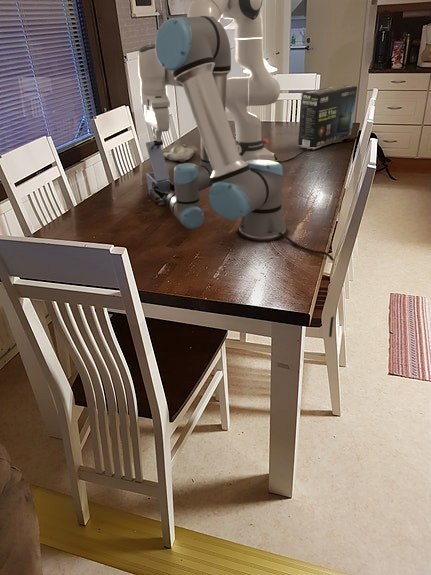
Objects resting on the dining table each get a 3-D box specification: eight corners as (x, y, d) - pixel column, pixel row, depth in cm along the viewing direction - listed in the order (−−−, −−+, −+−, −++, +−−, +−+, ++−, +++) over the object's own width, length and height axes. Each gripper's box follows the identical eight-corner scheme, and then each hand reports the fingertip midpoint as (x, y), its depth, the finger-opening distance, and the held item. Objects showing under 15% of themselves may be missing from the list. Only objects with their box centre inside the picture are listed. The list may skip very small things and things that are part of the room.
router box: (314, 151, 231) (318, 94, 217) (296, 148, 237) (299, 92, 224) (352, 138, 251) (358, 85, 238) (335, 135, 258) (340, 83, 245)
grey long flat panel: (145, 143, 169) (149, 136, 161) (158, 141, 171) (163, 133, 163) (155, 181, 170) (160, 176, 162) (169, 179, 172) (174, 173, 164)
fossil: (184, 156, 217) (163, 136, 220) (174, 174, 223) (154, 154, 227) (205, 153, 231) (186, 134, 234) (195, 171, 237) (176, 152, 240)
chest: (148, 194, 185) (145, 173, 181) (161, 191, 187) (158, 170, 182) (159, 205, 174) (156, 183, 170) (172, 202, 176) (169, 180, 171)
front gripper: (154, 219, 155) (138, 197, 174) (205, 209, 161) (184, 190, 180) (152, 197, 152) (135, 178, 170) (204, 189, 157) (182, 171, 176)
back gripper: (138, 95, 163) (142, 136, 170) (152, 103, 146) (156, 147, 153) (155, 94, 165) (158, 134, 172) (171, 101, 148) (174, 145, 155)
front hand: (160, 184), depth 175 cm, fingers closed on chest, 5 cm apart
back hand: (157, 140), depth 162 cm, fingers closed, pressing on grey long flat panel
